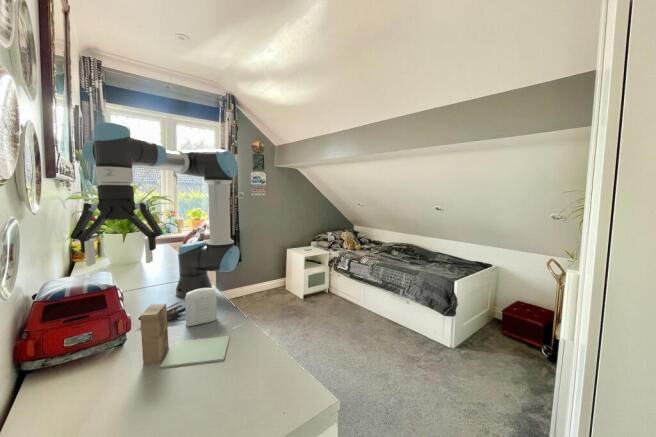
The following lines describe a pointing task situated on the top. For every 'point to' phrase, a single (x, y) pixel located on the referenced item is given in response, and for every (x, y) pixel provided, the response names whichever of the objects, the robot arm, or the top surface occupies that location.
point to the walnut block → (154, 333)
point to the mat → (196, 351)
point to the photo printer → (200, 306)
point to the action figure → (174, 313)
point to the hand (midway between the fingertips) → (121, 263)
